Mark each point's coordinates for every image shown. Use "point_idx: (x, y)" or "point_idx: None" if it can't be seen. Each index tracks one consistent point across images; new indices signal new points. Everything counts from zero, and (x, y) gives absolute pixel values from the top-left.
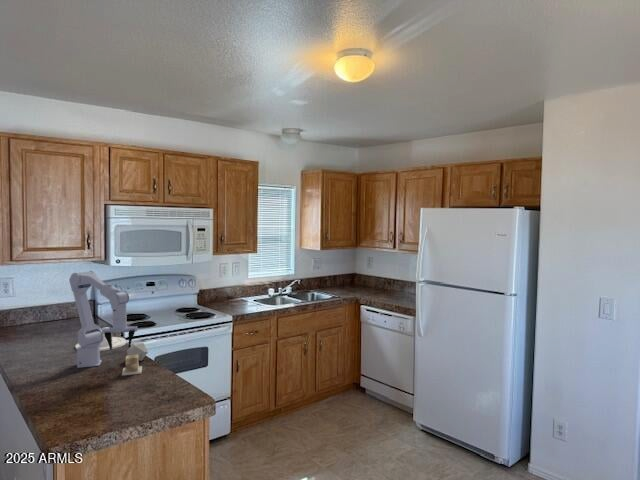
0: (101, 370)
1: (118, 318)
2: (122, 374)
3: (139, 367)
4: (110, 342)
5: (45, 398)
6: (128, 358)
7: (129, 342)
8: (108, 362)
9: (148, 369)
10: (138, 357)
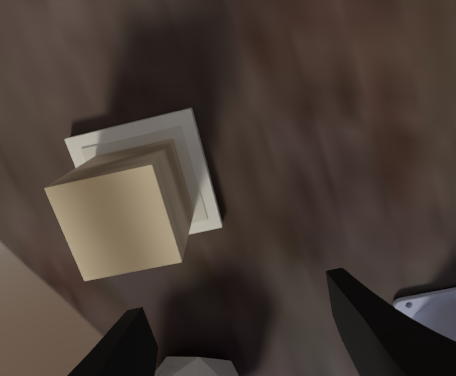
0: (360, 221)
1: None
2: (187, 109)
3: None
4: (371, 321)
5: None
6: (125, 172)
7: (101, 355)
8: None
9: None
10: (174, 364)
